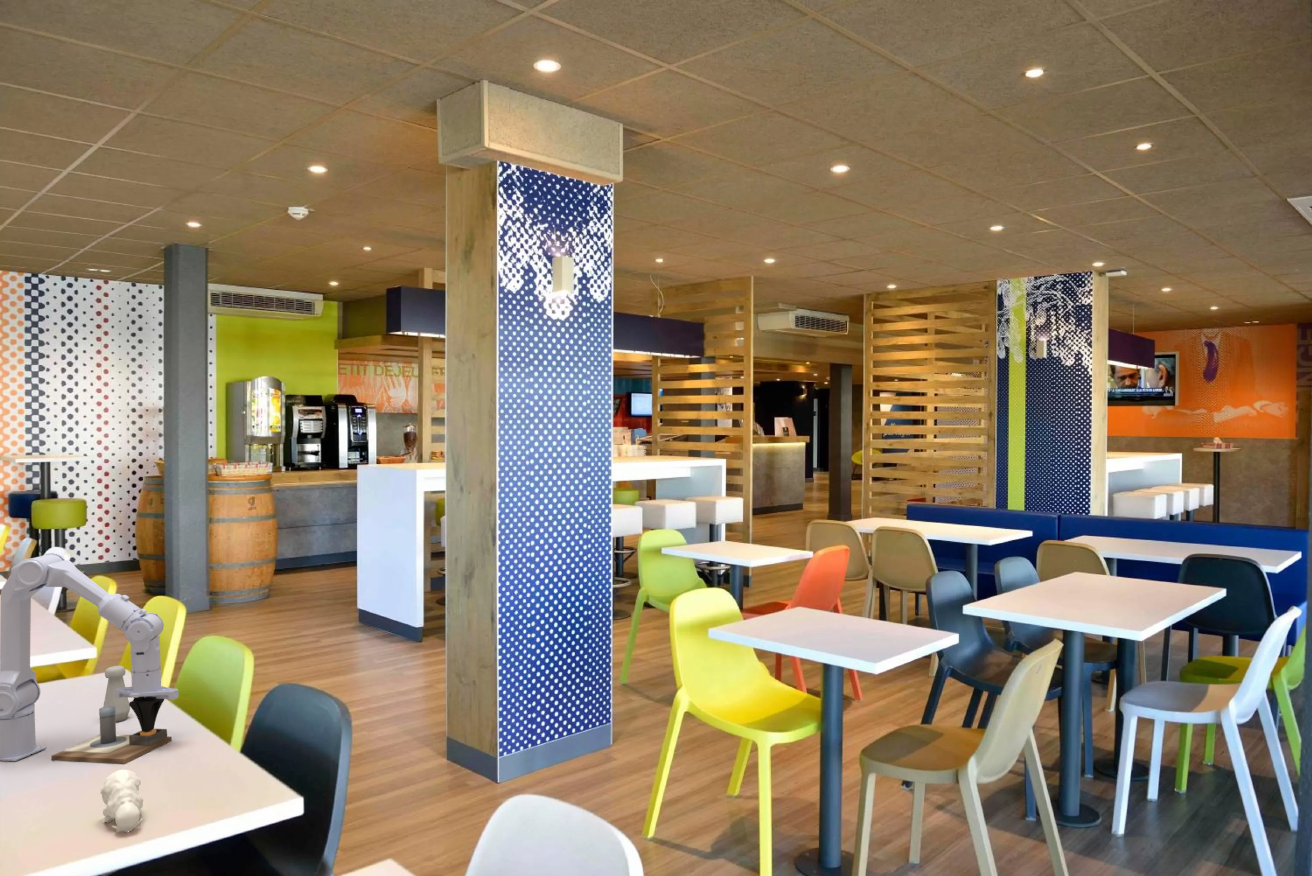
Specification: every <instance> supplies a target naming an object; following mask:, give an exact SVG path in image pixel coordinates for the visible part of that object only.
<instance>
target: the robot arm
mask: <svg viewBox="0 0 1312 876" xmlns="http://www.w3.org/2000/svg"><path fill="white" fill-rule="evenodd" d="M10 572H11V573H10V575H9V577H8V578H7V580H6V582H5V583H4V584H3V587H2V588H1V589H0V761H5V762H17V761H20V760H21V759H24V758H27V757H29V756H31V754H32V755H34V754H36V753H38V752H40V751H43V750H46V748H47V746H44V745H37V743H36V742H37V739H36V713H35V708H36V707H35V706H36V705H35V703H37V701H38V700H39V699H40V696H41V688H40V685H39V684H38V681H37V673H36V672H35V671H34V670H33V669H32V667H31V623H32V622H31V616H32V615H31V614H32V613H31V610H32V607H31V606H32V605H31V603H32V600H31V599H32V597H33V596H34V595H35V594H37V593H38V592H40V590H41V589H44V587H46V588H66V589H67V590H70V591H71V592H73V593H75V594H77V595H78V596H80V597H81V598H83V599H84V600H86V601H88V602H89V603H91V604H93V605H94V606H97V612H98V615H99V616H100V617H101V618H102V619H105V620H106V621H107V622H109V623H111V624H112V625H113V626H115V627H116V628H117V629H119V630H120V631H122V632H124V637H125V639H126V640H127V641H128V642H129V644H130V667H131V668H130V672H131V673H130V675H131V686H125V687H121V688H118V689H115V698H121V697H128V699H129V698H133V699H132V700H131V701H130V702H129V706H130V709H132V711H133V712H134V714H135V716H136V718H137V720H138V723H139V726H140V729H141V731H142V732H148V731H151V730H153V729H155V723H156V721H157V716H158V714H159V711H160V708H161V707H162V705H163V703H164V701H165V700H168V701H174V700H176V699H178V698H179V689H178V688H172V687H166V686H164V685H163V686H162V673H161V671H162V669H161V666H162V665H161V663H162V662H161V645H160V644H161V641H160V635H161V634H162V632H163V631H164V626H165V625H164V624H165V623H164V621H163V618H161V617H160V616H159V614H158V613H155V612H148V611H147V610H146V609H145V608H140V607H139V606H138V605H136V604H135V603H133V602H132V601H131V600H129V599H130V597H129V596H128V595H127V594H123V595H122V594H120V593H113V594H110V593H109V592H107V591H106V590H105V589H104V588H103V587H101V586H99V584H97V583H96V582H95V581H93V579H91V578H89V576H87V575H85V574H84V573H83V572H82V571H80V570H79V569H78V568H77V566H75V564H74V563H73V562H72V561H70V560H69V559H66V558H64V557H63V556H62V555H61V554H58V553H54V552H52V553H51V552H50V553H46V554H44V555H40V556H36V557H31V558H26V559H23V560H21V561H20V562H19V563H17V564H16V565H14V566H12V567H11V569H10Z"/></svg>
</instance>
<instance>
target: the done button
mask: <svg viewBox="0 0 1312 876" xmlns="http://www.w3.org/2000/svg"><path fill="white" fill-rule="evenodd" d="M156 729H157V728H154V729H153V730H151V731H148V732H142V730H140V731H141V732H140V736H150V735H153V734H155V733H156Z"/></svg>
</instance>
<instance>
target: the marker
mask: <svg viewBox="0 0 1312 876" xmlns="http://www.w3.org/2000/svg"><path fill="white" fill-rule="evenodd" d="M115 714H116V711H115V706H106V707H101V708H99V709H98V715H99V735H100V743H101V744H109V743H113V742H115V741H116V734H117V725H116V723H117V722H116V719H115Z"/></svg>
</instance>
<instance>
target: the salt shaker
mask: <svg viewBox="0 0 1312 876" xmlns="http://www.w3.org/2000/svg"><path fill="white" fill-rule="evenodd" d="M125 675H126V668H125V667H124V666H123V665H113V666H110V667H107V668H106V669H105V670H104V676H105V678H106V679H108V680H107V685H106V686H107V687H106V690H105V696H104V701H103V707H106V706H115V711H116V714H115V719H116V723H118V722H117V721H119V722H123V721H125V720H127V719H126V718H128V716H129V714H130V710H131V707H130V706H129V703H130V702H129V697H121V698H115V689H118V688H121V687H126V685H125V680H124V676H125ZM124 719H125V720H124ZM122 720H123V721H122Z"/></svg>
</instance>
